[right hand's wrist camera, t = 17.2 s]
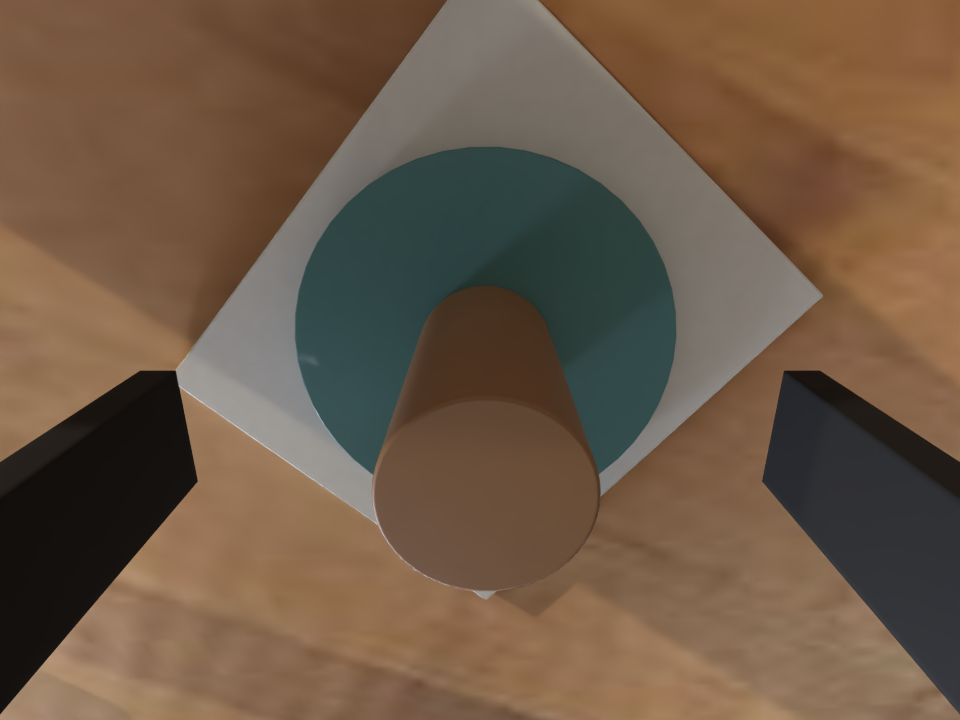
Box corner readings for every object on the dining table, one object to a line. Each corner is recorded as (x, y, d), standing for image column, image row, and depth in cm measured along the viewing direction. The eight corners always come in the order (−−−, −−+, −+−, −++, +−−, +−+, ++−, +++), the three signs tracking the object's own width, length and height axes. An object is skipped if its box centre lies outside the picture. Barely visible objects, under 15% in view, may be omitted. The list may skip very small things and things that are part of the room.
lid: (500, 549, 21) (511, 814, 13) (233, 356, 19) (25, 528, 10) (743, 321, 18) (970, 473, 10) (463, 52, 16) (439, -62, 7)
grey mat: (486, 590, 23) (486, 601, 22) (176, 373, 19) (168, 379, 19) (814, 291, 18) (825, 296, 18) (486, -47, 15) (486, -55, 15)
